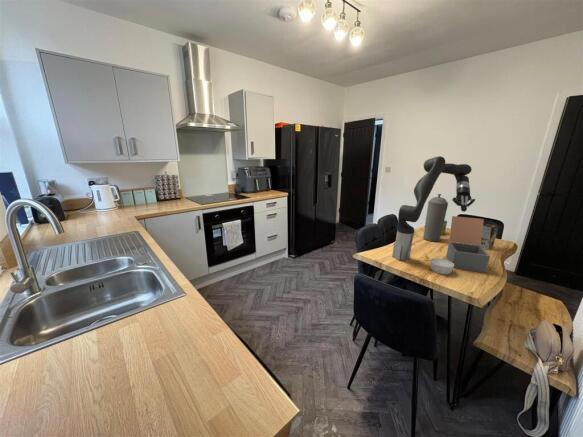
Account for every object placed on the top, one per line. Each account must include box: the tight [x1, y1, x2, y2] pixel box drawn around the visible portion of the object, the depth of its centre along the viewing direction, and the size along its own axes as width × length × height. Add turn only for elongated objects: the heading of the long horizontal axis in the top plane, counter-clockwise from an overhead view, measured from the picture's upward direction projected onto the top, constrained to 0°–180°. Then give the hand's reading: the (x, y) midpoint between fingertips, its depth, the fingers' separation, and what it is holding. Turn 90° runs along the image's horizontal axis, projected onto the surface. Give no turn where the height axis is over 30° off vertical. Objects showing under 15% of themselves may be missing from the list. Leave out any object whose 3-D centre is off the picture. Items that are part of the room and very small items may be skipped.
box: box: [445, 241, 491, 274], centre depth 139 cm, size 16×16×10 cm
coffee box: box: [477, 223, 499, 251], centre depth 164 cm, size 9×6×16 cm
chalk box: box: [441, 219, 448, 236], centre depth 192 cm, size 9×9×15 cm
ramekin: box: [429, 257, 454, 275], centre depth 132 cm, size 11×11×5 cm
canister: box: [422, 193, 449, 242], centre depth 175 cm, size 13×13×35 cm
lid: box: [448, 216, 485, 246], centre depth 145 cm, size 16×16×1 cm
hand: (464, 210), depth 153 cm, fingers closed
